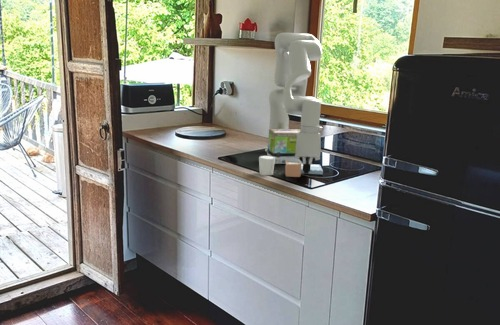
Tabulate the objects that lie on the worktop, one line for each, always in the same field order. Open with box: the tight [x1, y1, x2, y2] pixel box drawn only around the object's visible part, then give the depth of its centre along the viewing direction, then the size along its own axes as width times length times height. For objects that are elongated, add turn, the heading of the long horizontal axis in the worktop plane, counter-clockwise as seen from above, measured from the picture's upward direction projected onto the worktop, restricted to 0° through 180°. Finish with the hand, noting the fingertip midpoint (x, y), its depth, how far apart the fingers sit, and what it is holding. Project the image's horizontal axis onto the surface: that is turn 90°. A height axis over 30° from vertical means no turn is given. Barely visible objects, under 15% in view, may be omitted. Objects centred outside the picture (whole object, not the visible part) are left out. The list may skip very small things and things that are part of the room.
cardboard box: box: [284, 161, 302, 178], centre depth 192 cm, size 5×6×5 cm
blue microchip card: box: [301, 163, 324, 175], centre depth 200 cm, size 11×14×2 cm
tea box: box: [266, 128, 303, 165], centre depth 212 cm, size 15×10×15 cm, turn 105°
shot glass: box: [258, 155, 275, 176], centre depth 192 cm, size 7×7×7 cm
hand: (306, 172), depth 192 cm, fingers closed
